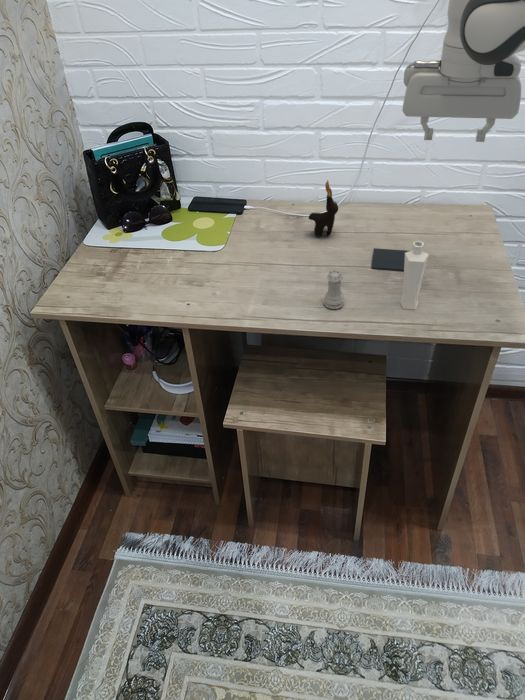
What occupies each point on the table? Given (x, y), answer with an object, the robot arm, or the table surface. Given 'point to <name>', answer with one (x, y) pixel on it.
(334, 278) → the rook chess piece
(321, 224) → the figurine
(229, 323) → the table surface
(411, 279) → the perfume bottle
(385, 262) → the mat
